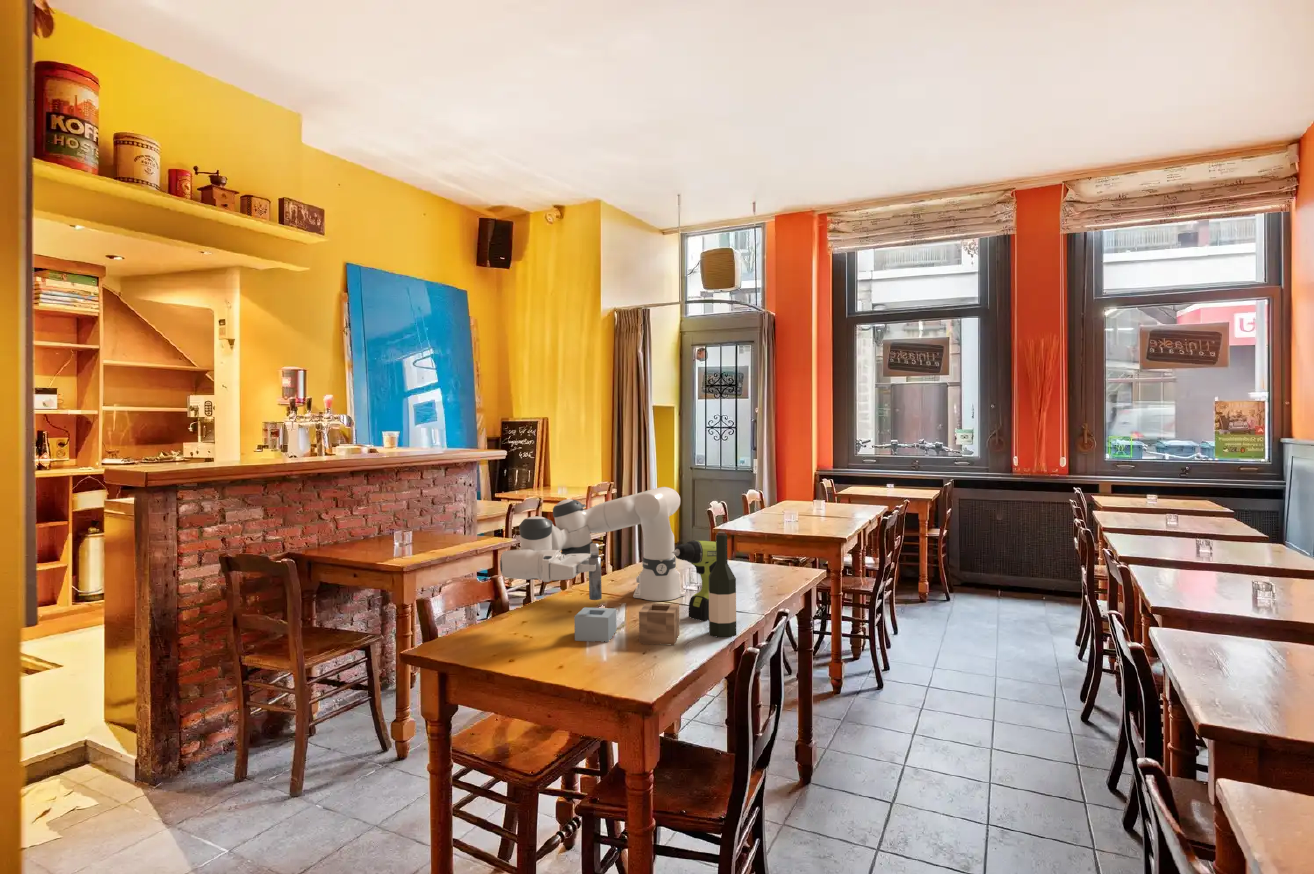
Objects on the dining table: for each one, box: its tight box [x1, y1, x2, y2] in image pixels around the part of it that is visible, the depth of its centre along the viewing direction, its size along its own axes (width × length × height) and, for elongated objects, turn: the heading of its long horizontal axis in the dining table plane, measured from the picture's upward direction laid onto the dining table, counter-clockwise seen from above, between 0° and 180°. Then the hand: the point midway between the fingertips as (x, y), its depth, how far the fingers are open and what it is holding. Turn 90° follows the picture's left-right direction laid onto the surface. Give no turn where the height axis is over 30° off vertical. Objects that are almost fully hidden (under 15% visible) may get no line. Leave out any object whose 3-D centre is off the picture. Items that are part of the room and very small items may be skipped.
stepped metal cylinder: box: [588, 542, 603, 601], centre depth 206 cm, size 4×4×16 cm
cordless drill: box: [672, 539, 716, 622], centre depth 224 cm, size 23×7×25 cm, turn 134°
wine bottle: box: [708, 531, 737, 638], centre depth 208 cm, size 8×8×30 cm
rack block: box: [638, 602, 680, 646], centre depth 203 cm, size 10×10×9 cm
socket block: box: [574, 606, 618, 643], centre depth 207 cm, size 10×10×7 cm
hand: (598, 566), depth 206 cm, fingers closed on stepped metal cylinder, 4 cm apart
